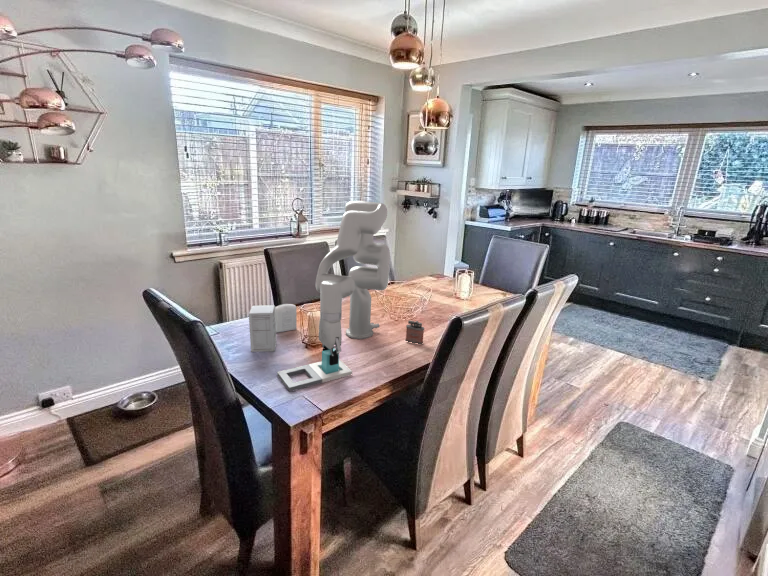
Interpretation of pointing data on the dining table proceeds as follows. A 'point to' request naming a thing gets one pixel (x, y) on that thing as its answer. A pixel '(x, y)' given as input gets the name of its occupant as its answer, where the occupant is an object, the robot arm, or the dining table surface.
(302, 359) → the dining table surface
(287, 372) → the panel
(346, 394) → the dining table surface
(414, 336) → the lighter
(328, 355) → the plug
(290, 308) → the grey toy tombstone
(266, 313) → the supplement box
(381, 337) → the dining table surface
